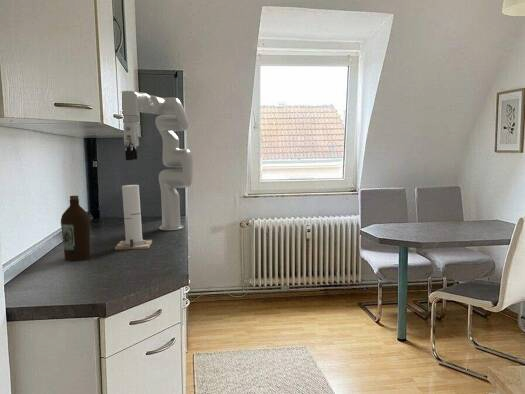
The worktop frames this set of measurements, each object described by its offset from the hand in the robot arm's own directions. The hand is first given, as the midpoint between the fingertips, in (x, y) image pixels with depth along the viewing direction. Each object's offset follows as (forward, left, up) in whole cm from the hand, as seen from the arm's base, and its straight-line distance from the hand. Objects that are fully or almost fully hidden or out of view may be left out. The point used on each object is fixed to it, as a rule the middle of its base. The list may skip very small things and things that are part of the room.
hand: (131, 159), depth 202 cm
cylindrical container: (0, 0, -36) cm, 37 cm away
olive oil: (+20, -19, -38) cm, 48 cm away
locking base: (0, 0, -38) cm, 38 cm away
